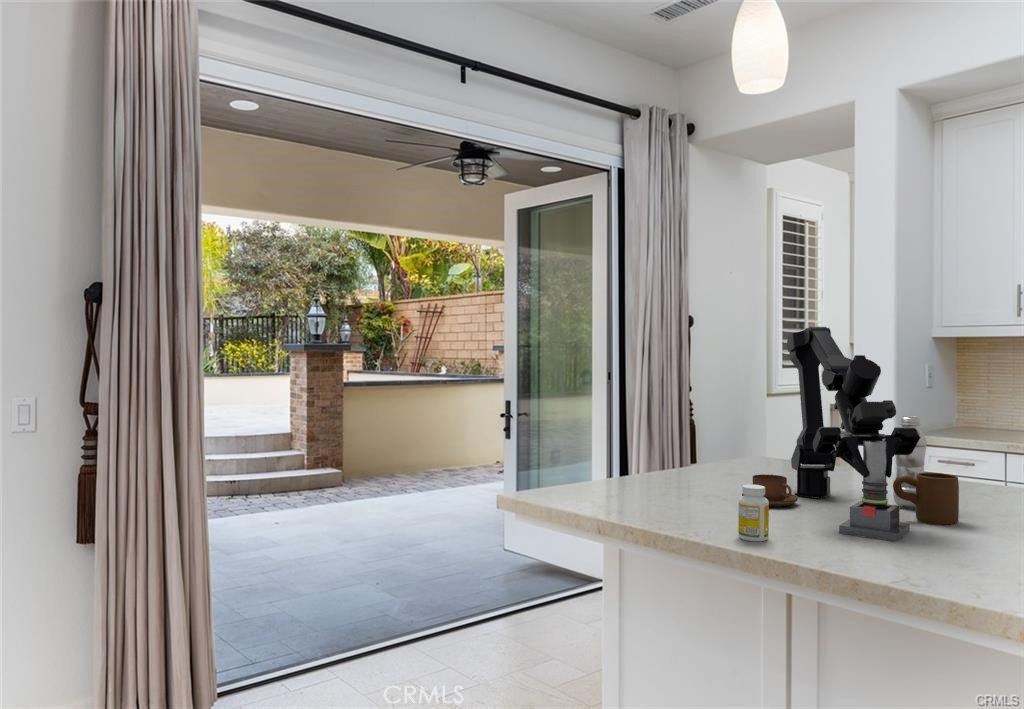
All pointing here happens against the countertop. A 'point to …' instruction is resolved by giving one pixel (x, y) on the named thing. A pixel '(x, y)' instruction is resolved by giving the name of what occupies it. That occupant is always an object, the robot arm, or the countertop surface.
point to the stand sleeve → (875, 522)
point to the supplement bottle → (753, 514)
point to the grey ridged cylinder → (875, 472)
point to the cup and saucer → (775, 489)
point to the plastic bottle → (910, 461)
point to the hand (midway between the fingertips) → (877, 476)
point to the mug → (932, 497)
